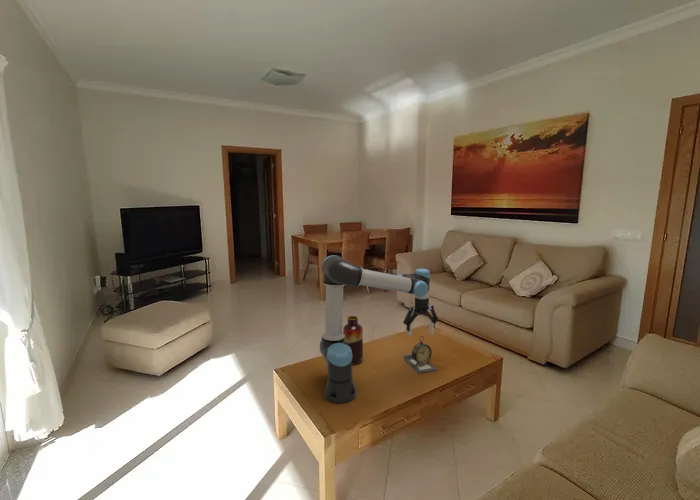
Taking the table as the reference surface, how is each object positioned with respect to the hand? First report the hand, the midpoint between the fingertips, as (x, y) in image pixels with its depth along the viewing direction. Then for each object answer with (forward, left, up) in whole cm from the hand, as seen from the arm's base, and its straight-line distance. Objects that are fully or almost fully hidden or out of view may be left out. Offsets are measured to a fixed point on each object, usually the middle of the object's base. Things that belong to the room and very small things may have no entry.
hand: (420, 335), depth 185 cm
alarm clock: (+1, 0, -17) cm, 17 cm away
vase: (-34, +17, -18) cm, 42 cm away
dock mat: (0, 0, -18) cm, 18 cm away
